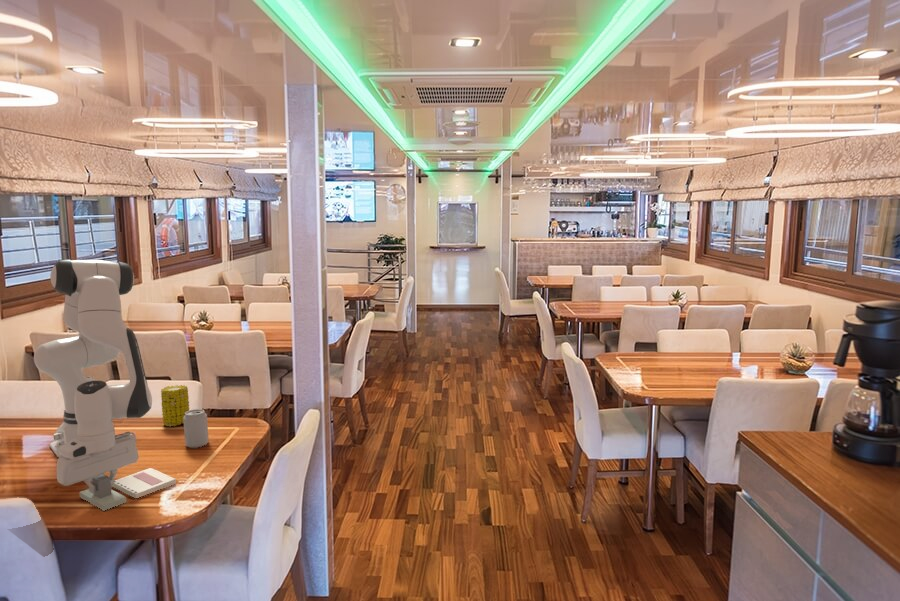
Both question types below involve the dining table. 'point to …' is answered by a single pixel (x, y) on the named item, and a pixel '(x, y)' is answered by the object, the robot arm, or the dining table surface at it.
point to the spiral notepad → (143, 482)
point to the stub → (103, 494)
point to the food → (174, 404)
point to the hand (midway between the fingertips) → (101, 488)
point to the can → (195, 428)
